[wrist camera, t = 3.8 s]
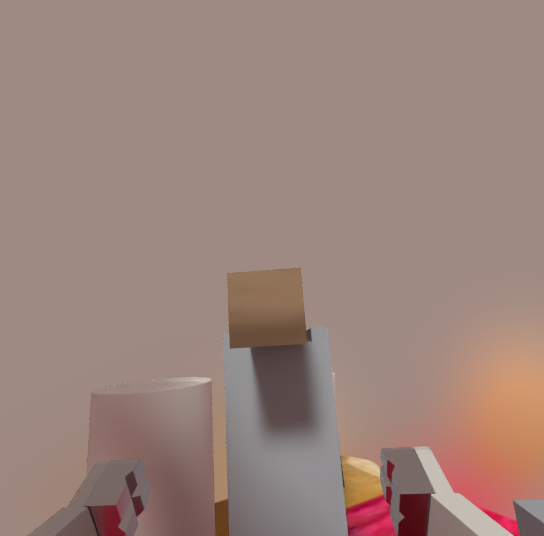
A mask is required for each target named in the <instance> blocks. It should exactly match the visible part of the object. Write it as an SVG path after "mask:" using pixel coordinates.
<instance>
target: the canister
mask: <svg viewBox="0 0 544 536" xmlns="http://www.w3.org/2000/svg"><path fill="white" fill-rule="evenodd" d="M88 441H89V442H88V458H87V475H88V473H89V472H90V470H91V469H92V467H93V466H94V464H95V463H97V462H98V461H104V460H143V462H144V465H145V469H144V472H143V474H145V475H146V476H147V477H148V480H149V488H150V491H149V496H148V501H147V504H146V507H145V509H144V511H143V512H142V513H141V514H140V515H139V516H138V517H137V520H138V527H137V529H136V532H135V534H134V536H215V508H214V467H213V466H214V463H213V417H212V380H211V379H210V378H205V377H204V378H203V377H183V378H166V379H155V380H146V381H137V382H130V383H123V384H117V385H111V386H106V387H102V388H98V389H95V390H93V391H92V392H91V405H90V423H89V440H88ZM86 477H87V476H86Z"/></svg>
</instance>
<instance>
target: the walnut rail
mask: <svg viewBox="0 0 544 536" xmlns="http://www.w3.org/2000/svg"><path fill="white" fill-rule="evenodd" d="M227 280H228V281H227V283H228V310H229V311H228V312H229V341H230V349H234V348H250V347H265V346H280V345H296V344H307V337H306V325H305V313H304V302H303V291H302V278H301V268H291V269H277V270H265V271H251V272H238V273H227Z"/></svg>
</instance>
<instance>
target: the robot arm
mask: <svg viewBox="0 0 544 536" xmlns="http://www.w3.org/2000/svg"><path fill="white" fill-rule="evenodd" d="M381 460H382V463H383V465H382V466H381V468H380V477H381V485H382V489H383V493H384V497H385V500H386V502H387V503H388V504H389V505H390V506H391V515H390V516H391V519H392V522H393V525H394V528H395V531H396V534H397V536H513V535H512V534H511V533H509V532H508V531H507V530H506V529H504V528H503V527H502V526H500V525H499V524H498V523H497V522H495V521H494V520H493V519H492V518H490V517H489V516H488V515H486V514H485V513H484V512H483V511H481V510H480V509H479V508H477V507H476V506H475V505H474V504H472V503H471V502H470V501H469V500H467V499H466V498H465V497H463V496H462V495H461V494H460V493H454V492H453V490H452V488H451V486H450V484H449V482H448V481H447V479H446V477H445V475H444V473H443V471H442V469H441V467H440V466H439V464H438V462H437V460H436V458H435V457H434V454H433V453H432V451H431V449H430V448H429V447H428V446H422V447H400V448H383V449H381ZM144 469H145V465H144V462H143V460H104V461H98V462H97V463H95V464H94V466H93V467H92V469H91V470H90V472H89V473H88V475H87V477H86V478H85V480H84V481H83V483H82V485H81V486H80V488H79V489H78V491H77V493H76V495H75V496H74V497H73V499H72V501H71V502H70V504H69V505H68V507H67V508H62V509H61V510H59V511H58V512H57V513H56V514H55V515H53V516H52V517H51V518H49V519H48V520H47V521H46V522H44V523H43V524H42V525H41V526H39V527H38V528H37V529H35V530H34V531H33V532H32V533H31V534H29V535H28V536H134V534H135V532H136V529H137V527H138V520H137V517H138V516H139V515H140V514H141V513H142V512H143V511H144V509H145V507H146V504H147V501H148V496H149V491H150V488H149V480H148V477H147V476H146V475H145V474H143V472H144Z"/></svg>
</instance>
